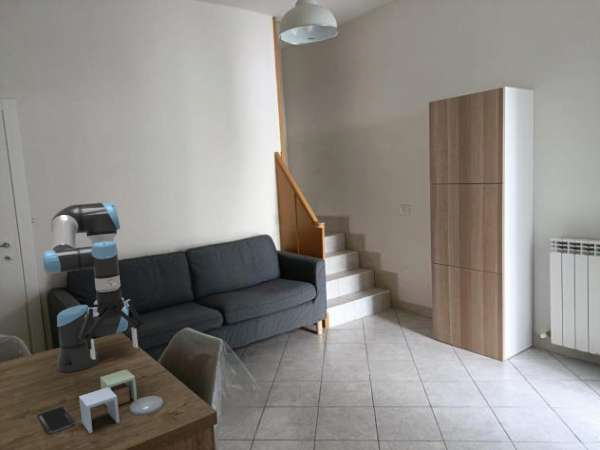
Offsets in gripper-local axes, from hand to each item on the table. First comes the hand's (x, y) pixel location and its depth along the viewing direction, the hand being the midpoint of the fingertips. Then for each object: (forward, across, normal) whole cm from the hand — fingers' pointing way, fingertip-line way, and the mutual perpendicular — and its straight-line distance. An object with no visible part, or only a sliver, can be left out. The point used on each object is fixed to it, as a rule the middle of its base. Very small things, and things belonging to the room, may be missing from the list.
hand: (115, 352), depth 153 cm
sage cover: (+17, 0, 0) cm, 17 cm away
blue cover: (+17, -9, -10) cm, 21 cm away
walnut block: (+17, 0, 0) cm, 17 cm away
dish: (+17, +5, -11) cm, 21 cm away
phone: (+17, -19, +1) cm, 26 cm away
